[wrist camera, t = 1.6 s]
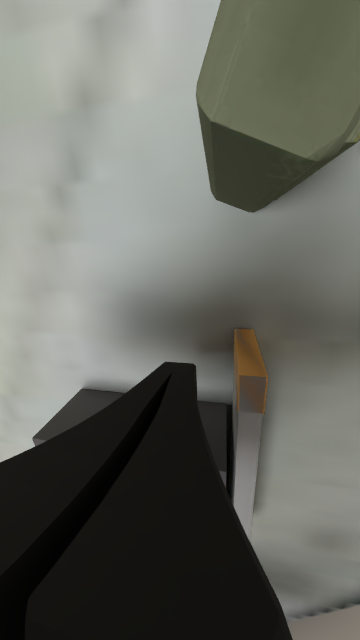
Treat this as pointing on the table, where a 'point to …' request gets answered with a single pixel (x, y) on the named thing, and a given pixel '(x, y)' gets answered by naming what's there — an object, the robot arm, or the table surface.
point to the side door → (246, 423)
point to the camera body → (95, 401)
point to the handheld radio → (278, 95)
